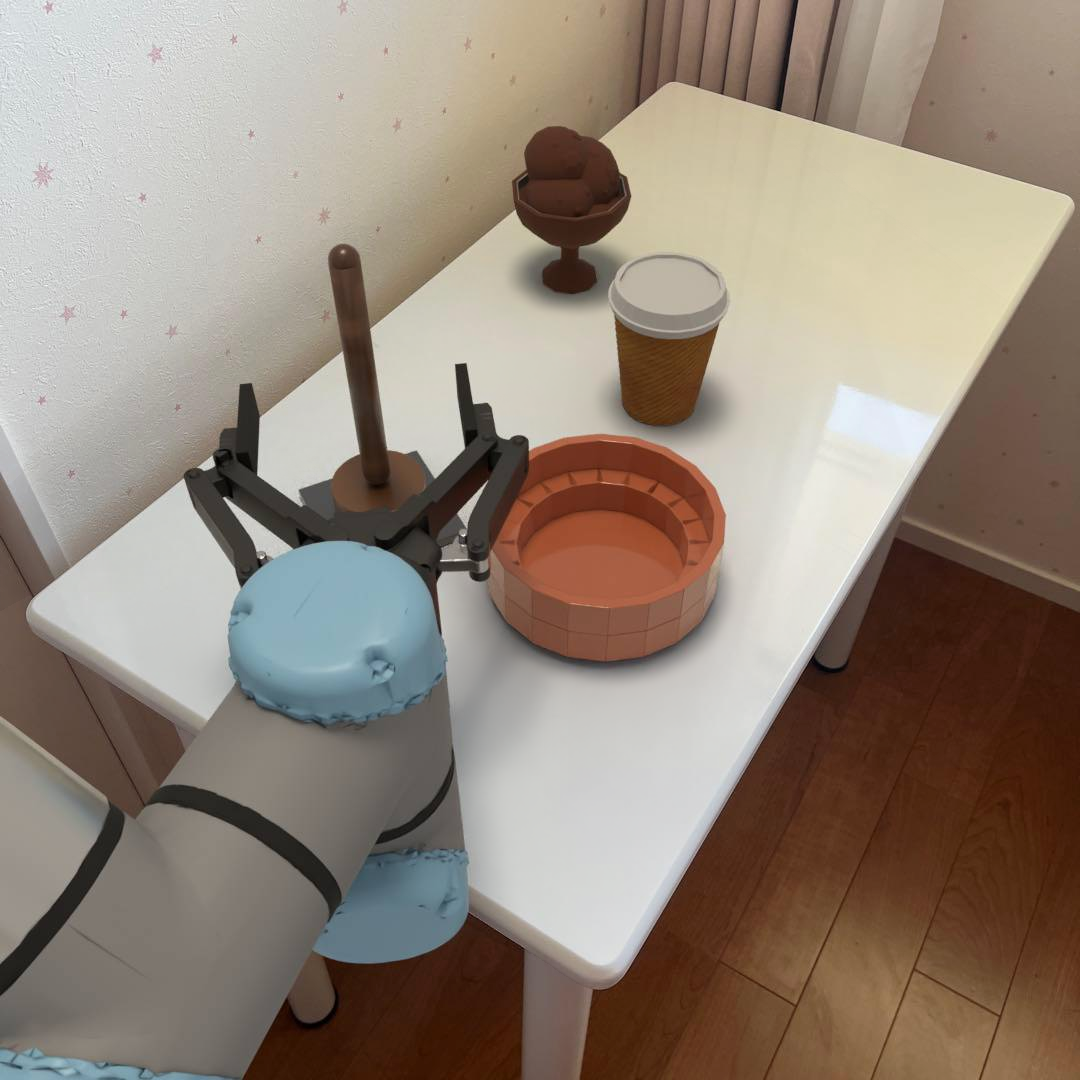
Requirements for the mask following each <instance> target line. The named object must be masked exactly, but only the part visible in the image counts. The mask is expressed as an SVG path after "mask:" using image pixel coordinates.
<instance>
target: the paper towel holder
mask: <svg viewBox="0 0 1080 1080" xmlns="http://www.w3.org/2000/svg"><path fill="white" fill-rule="evenodd" d="M361 260H362V259H361V255H360V253H359V251H358V250H357V249H356V247H354V246H353V245H351V244H348V243H339V244H336V245H335V246H333V247H332V248H331V249H330V251H329V252H328V255H327V265H328V271H329V277H330V282H331V288H332V295H333V300H334V301H333V302H334V307H335V313H336V320H337V325H338V331H339V332H338V333H339V336H340V343H341V349H342V355H343V361H344V368H345V375H346V380H347V384H348V391H349V398H350V403H351V404H350V405H351V408H352V410H351V411H352V415H353V421H354V422H353V423H354V427H355V434H356V440H357V445H358V453H359V454H356V455H354V456H352V457H350V458H348V459H347V460H345V461H344V462H343V463H342V464H341V465H340V466H339V467H338V468H337V469H336V470H335V472H334V474H333V476H332V478H331V479H332V482H331V491H332V496H333V501H334V506H335V511H336V512H344V511H352V512H364V511H368V510H371V509H374V508H382V507H389V511H395V512H396V511H397V510H398V509H399V508H400V507H401V506H402V505H403V504H404V503H405V502H406V501H407V500H408V499H409V498H410V497H411V496H412V495H413V494H415V493H417V494H421V493H422V492H423V491H424V490H425V489H426V482H425V474H424V471H423V469H422V467H421V466H420V465H419V463H418V462H417V461H415V460H414V459H413V458H411V457H410V456H408V455H406V454H407V453H403V452H400V451H397V450H396V451H395V450H390V449H388V445H387V439H386V438H387V436H386V430H385V423H384V417H383V410H382V409H383V408H382V403H381V395H380V388H379V382H378V374H377V366H376V359H375V353H374V346H373V337H372V331H371V325H370V323H371V322H370V318H369V309H368V304H367V296H366V295H367V294H366V288H365V281H364V275H363V267H362V261H361Z"/></svg>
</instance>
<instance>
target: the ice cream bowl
mask: <svg viewBox="0 0 1080 1080" xmlns="http://www.w3.org/2000/svg"><path fill="white" fill-rule="evenodd" d="M523 156H524V163H525V168H526V169H525V170H524V171H523V172H521V173H520V174H519V175H517V176H516V177H515V178H513V179H512V180H511V186H512V197H513V198H512V200H513V203H514V204H513V205H514V208H515V213H516V215H517V216H516V217H518V219H519V221H520V223H521V225H522V226H523V227H524V228H526V229H527V230H528V231H529V232H531V233H532V234H533V235H535V236H536V237H538V238H539V239H541V240H542V241H544V242H545V243H547V244H548V245H550V246H554V247H557V248H560V258H559V259H554V260H551V261H550V262H549V263H548V264H547V265H546V266H545V267H544V268H543V269H542V272H541V279H542V285H544V286H545V287H547V288H548V289H550V290H551V291H552V292H555V293H563V294H570V295H574V294H578V293H582V292H587V291H589V290H590V289H591V288H593V286H594V285H596V283H597V282H598V276H597V270H596V267H595V266H594V265H593V264H591V263H590V262H588V261H586V260H585V259H583V258H580V248H581V247H585V246H590V245H593V244H596V243H598V242H599V241H601V240H602V239H603V238H605V237H606V236H607V235H608V234H609V233H610V232H611V231H613V230H614V229H615V228H616V226H618V225H619V224H620V223H621V222H622V220H623V219H624V217H625V216H626V214H627V212H628V210H629V206H630V203H631V200H632V193H631V189H630V188H631V187H630V184H629V180H628V176H626V175H625V174H623V173H622V172H620V169H619V166H618V163H617V159H616V157H615V156H614V155H613V152H612V150H611V148H609V147H608V146H607V145H605V144H604V143H603V142H601V141H600V140H598V139H596V138H594V137H592V136H586V135H580V134H579V132H578V131H576V130H574V129H571V128H568V127H566V126H561V125H553V126H552V125H551V126H550V125H549V126H546V127H544V128H541V129H540V130H538V131H536V132H535V133H533V135H532V137H531V139H530V140H529V142H528V143H527V144H526V146H525V149H524V152H523Z"/></svg>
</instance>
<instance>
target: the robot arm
mask: <svg viewBox="0 0 1080 1080" xmlns="http://www.w3.org/2000/svg"><path fill="white" fill-rule="evenodd" d="M454 370H455V371H454V372H455V383H456V398H457V404H458V410H459V411H458V412H459V417H460V423H461V424H460V425H461V431H462V438H463V444H464V449H463V450H462V451H461V452H460V453H459V454H458V455H457V456H456V457H455V458H454V459H453V460H452V461H451V462H450V463H449V464H448V465H447V466H446V467H445V468H444V470H442V471H441V472H440V473H439V474H438V475H437V476H436V477H435V480H434V481H433V482H432V483H431V484H430V485H429V486H428V487H427V488H426V489H425V490H424V491H423V492H422V493H421V494H417V493H415V494H413V495H412V496H411V497H410V498H409V499H408V500H407V501H406V502H405V503H404V504H403V505H402V506H401V507H400V508H399V509H398V510H397V511H396V512H395V511H389V507H382V508H374V509H371V510H368V511H364V512H352V511H344V512H334V517H331V518H329V519H327V520H326V519H325V518H323V517H322V516H320V515H319V514H318V513H316V512H315V511H313V510H312V509H311V508H309V507H308V506H306V505H304V504H303V505H299V504H298V503H296V502H295V501H293V500H292V499H291V498H290V497H288V496H287V495H285V494H284V493H282V492H281V491H280V490H278V489H277V488H276V487H274V486H273V485H271V484H270V483H269V482H267V481H266V480H265V479H263V478H262V477H260V476H259V475H258V472H259V471H258V469H259V448H260V447H259V444H260V425H261V424H260V421H261V414H260V410H259V406H258V402H257V399H256V394H255V390H254V387H253V386H254V385H253V383H252V382H248V383H239V387H238V388H239V390H238V391H239V392H238V403H237V404H238V406H237V419H236V427H226V428H223V429H222V430H221V432H220V434H219V443H218V444H219V445H218V449H215V451H214V452H213V453H212V460H213V463H214V466H213V467H211V468H208V469H206V470H204V469H202V468H200V467H192V468H189V469H188V470H186V471H185V472H184V473H183V481H184V482H185V486H186V489H187V492H188V495H189V498H190V502H191V504H192V506H193V509H194V511H195V512H196V514H197V515H198V516H199V518H200V519H201V521H202V522H203V524H204V525H205V527H206V528H207V530H208V531H209V533H210V534H211V536H212V537H213V539H214V540H215V541H216V543H217V544H218V546H219V547H220V549H221V550H222V552H223V553H224V555H225V556H226V558H227V560H228V561H229V562H230V563H231V565H232V566H233V568H234V570H235V571H234V572H235V575H236V580H237V582H238V585H239V589H240V590H239V591H238V593H237V595H236V596H235V598H234V601H233V605H232V608H231V610H230V616H229V620H228V623H227V629H228V630H227V631H228V634H227V642H228V649H229V657H228V658H227V663H228V667H229V669H230V671H231V673H232V676H233V679H234V680H235V682H234V685H233V686H232V687H231V689H230V690H229V692H228V693H227V694H226V696H225V697H224V698H223V699H222V701H221V703H219V705H218V707H216V709H215V711H214V712H213V713H212V715H210V718H209V719H208V720H207V721H206V723H205V724H204V726H203V727H202V728H201V730H200V731H199V732H198V733H197V735H196V737H195V738H194V739H193V740H192V742H191V743H190V744H189V746H188V747H187V749H186V750H185V751H184V753H183V754H182V755H181V757H180V758H179V760H178V761H177V762H176V764H175V765H174V767H173V768H172V769H171V770H170V772H169V773H168V775H167V776H166V777H165V779H164V780H163V782H162V783H161V784H160V785H159V787H158V788H157V789H156V790H155V791H154V792H153V794H152V795H151V796H150V798H149V799H148V801H147V802H146V804H145V805H144V806H143V808H142V809H141V811H140V812H139V814H138V815H137V816H136V818H134V817H132V816H131V815H129V814H128V813H126V812H125V811H123V810H122V809H120V808H119V807H118V806H116V805H115V804H114V803H112V802H111V801H109V800H108V797H107V796H106V795H105V794H104V793H102V792H101V791H100V790H98V789H97V788H95V787H94V786H93V785H92V784H90V783H89V782H88V781H87V780H85V779H84V778H83V777H81V776H80V775H78V774H77V773H76V772H75V771H73V770H72V769H71V768H69V767H68V766H67V765H65V764H64V763H63V762H61V761H60V760H59V759H58V758H56V757H55V756H54V755H52V754H51V753H50V752H48V751H47V750H46V749H45V748H43V747H42V746H40V744H38V743H36V742H35V741H34V740H33V739H32V738H30V737H29V736H27V735H26V734H25V733H24V732H23V731H21V730H19V729H18V728H17V727H16V726H15V725H13V724H12V723H10V722H9V721H7V719H5V718H4V717H2V716H1V715H0V1080H243V1078H244V1076H245V1074H246V1072H247V1071H248V1069H249V1067H250V1065H251V1063H252V1061H253V1060H254V1058H255V1056H256V1054H257V1052H258V1051H259V1048H260V1047H261V1046H262V1043H263V1042H264V1039H265V1038H266V1036H267V1033H268V1032H269V1030H270V1029H271V1026H272V1025H273V1023H274V1021H275V1019H276V1017H277V1016H278V1014H279V1012H280V1011H281V1008H282V1006H283V1004H284V1002H285V1001H286V999H287V997H288V995H289V993H290V991H291V990H292V988H293V986H294V985H295V983H296V981H297V979H298V977H299V975H300V973H301V971H302V969H303V968H304V966H305V964H306V962H307V961H308V959H309V957H310V955H311V953H312V951H313V952H314V953H316V954H318V955H320V956H323V957H325V958H327V959H330V960H335V961H337V962H343V963H348V964H349V963H350V964H369V965H371V964H383V963H385V964H386V963H390V962H397V961H404V960H408V959H412V958H415V957H418V956H421V955H424V954H427V953H429V952H432V951H434V950H436V949H438V948H439V947H441V946H442V945H445V944H446V943H448V942H449V941H450V940H451V939H452V938H454V937H455V936H456V935H457V934H458V932H459V931H460V930H461V928H462V927H463V926H464V924H465V922H466V920H467V917H468V914H469V908H470V900H469V883H468V882H469V880H468V866H469V864H470V860H469V855H468V854H469V853H468V851H467V850H466V845H465V844H466V843H465V834H464V826H463V817H462V806H461V798H460V789H459V788H460V787H459V780H458V779H459V778H458V771H457V762H456V761H457V760H456V756H455V755H456V754H455V750H454V744H453V733H452V731H453V730H452V721H451V720H452V719H451V704H450V694H449V687H448V685H449V684H448V675H447V674H448V673H447V662H448V655H447V647H446V645H445V640H444V638H443V631H442V620H441V612H440V604H439V603H440V602H439V594H438V593H439V592H438V581H439V579H440V578H441V576H442V574H443V573H451V572H452V573H456V572H457V573H459V572H468V575H469V578H470V579H471V580H472V581H474V582H477V583H481V582H485V581H488V580H487V579H488V578H489V577H490V574H491V550H492V548H493V545H494V543H495V541H496V539H497V537H498V535H499V533H500V531H501V529H502V527H503V525H504V523H505V521H506V519H507V517H508V515H509V513H510V511H511V508H512V506H513V504H514V502H515V500H516V498H517V496H518V494H519V492H520V490H521V488H522V486H523V484H524V482H525V480H526V478H527V476H528V474H529V451H530V440H529V438H528V437H526V436H525V435H522V434H517V435H513V436H511V437H510V438H509V439H506V438H503V437H501V436H499V435H498V433H497V429H496V423H495V418H494V413H493V407H492V406H491V404H490V403H489V402H481V403H474V401H473V395H472V389H471V382H470V375H469V369H468V363H467V362H461V363H454ZM483 486H484V487H483ZM481 488H483V489H482V492H481V493H480V495H479V497H478V499H477V501H476V503H475V505H474V507H473V509H472V511H471V512H470V515H469V518H468V521H467V526H466V528H467V529H461V530H459V532H458V535H457V536H456V537H455V538H454V541H453V542H452V543H450V545H448V546H446V547H442V546H441V547H440V545H439V544H438V543H437V542H436V540H437V538H438V534H439V532H440V531H441V530H442V529H443V528H444V527H445V525H446V524H447V523H448V522H449V521H450V520H451V519H452V518H453V517H454V516H455V515H456V514H458V513H459V512H460V511H461V510H462V509H463V508H464V507H465V505H467V503H469V501H470V500H471V499H472V498H473V497H474V496H475V495H476V494H477V493H478V492H479V490H481ZM224 498H225V499H226V500H228V501H229V502H230V503H232V504H233V505H234V506H236V507H237V508H238V509H239V510H241V511H242V512H243V513H245V514H246V515H248V516H249V517H250V518H252V519H253V520H254V521H256V522H257V523H258V524H259V525H261V526H262V527H264V528H265V529H266V530H268V532H270V533H271V534H273V535H274V536H275V537H277V538H279V540H281V541H282V542H283V543H285V544H286V545H288V546H289V547H291V548H292V549H291V550H289V551H287V552H284V553H282V554H280V555H278V556H276V557H274V558H273V557H272V556H269V555H267V553H266V552H265V551H264V550H259V551H257V548H256V545H255V543H254V540H253V538H252V537H251V535H250V534H249V532H248V531H247V529H246V528H245V527H244V525H243V524H242V522H241V521H240V520H239V518H238V517H237V515H236V514H235V512H234V511H233V509H232V508H231V507H230V506H229V503H227V502H226V500H225V499H224Z"/></svg>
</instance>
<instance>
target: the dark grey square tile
mask: <svg viewBox="0 0 1080 1080" xmlns="http://www.w3.org/2000/svg"><path fill="white" fill-rule="evenodd" d="M405 454H406V455H408V456H410V457H411V458H413V459H414V460H415V461H417V462H418V463H419V465H420V466H421V467H422V469H423V471H424V474H425V482H426V488H427V487H428V486H429V485H430V484H431V483H432V482H433V481H434V480H435V479H436V477H434V475H433V473H432V472H431V470H430V469H429V467H428V465H427V463H426V462H425V461H424V459H423V458H422V456H421V454H420V453H419V452H418V450H416V449H415V450H413V451H410V452H407V453H405ZM331 482H332V478H329V479H326V480H323V481H320V482H316V483H314V484H311V485H309V486H305V487H302V488H298V495H299V498H300V500H301V503H302V504H303V505H306V506H308V507H309V508H311V509H312V510H313V511H315V512H316V513H318V514H319V515H320V516H322V517H323V518H325V519H326V520H327V519H329V518H331V517H334V512H336V511H335V506H334V501H333V496H332V491H331ZM461 529H467V526H466V524H465V523H464V522H463V521H462V519H461V517H460V515H459V514H458V513H457V514H456V515H455V516H454V517H453V518H452V519H451V520H450V521H449V522H448V523H447V524H446V525H445V527H444V528H443V529H442V530H441V531H440V532H439V534H438V538H437V540H436V542H437V543H438V544H439V545H440V547H441V548H442V547H444V546H447V545H449V544H452V543H453V541H454V538H455V537H456V536H457V535H458V532H459V530H461Z"/></svg>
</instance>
